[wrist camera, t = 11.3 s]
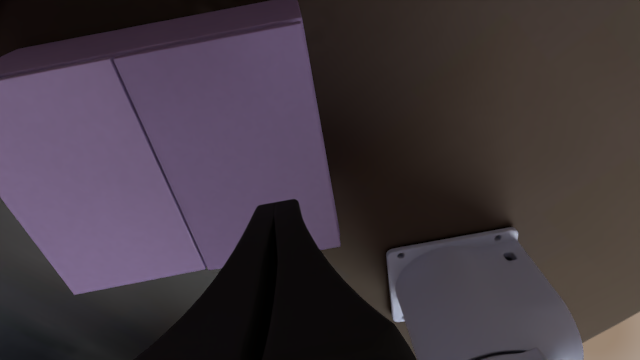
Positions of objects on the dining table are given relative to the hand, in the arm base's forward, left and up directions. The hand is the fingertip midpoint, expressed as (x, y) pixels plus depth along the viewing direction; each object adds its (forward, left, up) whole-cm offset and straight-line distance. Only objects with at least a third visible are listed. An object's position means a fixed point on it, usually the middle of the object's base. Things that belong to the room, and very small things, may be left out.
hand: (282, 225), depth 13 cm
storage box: (+5, 0, -10) cm, 12 cm away
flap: (+8, 0, -5) cm, 10 cm away
